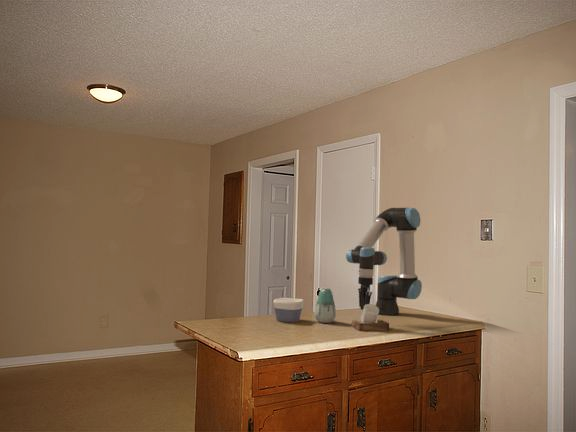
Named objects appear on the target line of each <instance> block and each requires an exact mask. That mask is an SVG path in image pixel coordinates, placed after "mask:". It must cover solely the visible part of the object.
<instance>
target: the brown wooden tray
mask: <svg viewBox="0 0 576 432" xmlns="http://www.w3.org/2000/svg"><path fill="white" fill-rule="evenodd" d="M351 327H352V328H353V329H356V330H358V331H359V332H361V331H362V332H364V331H365V332H368V331H371V332H373V331H375V330H377V331H390V323H389V322H388V321H385V320H382V319H376V322H375V323H361V322H360V321H359V320H357V319H352V322H351Z"/></svg>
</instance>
